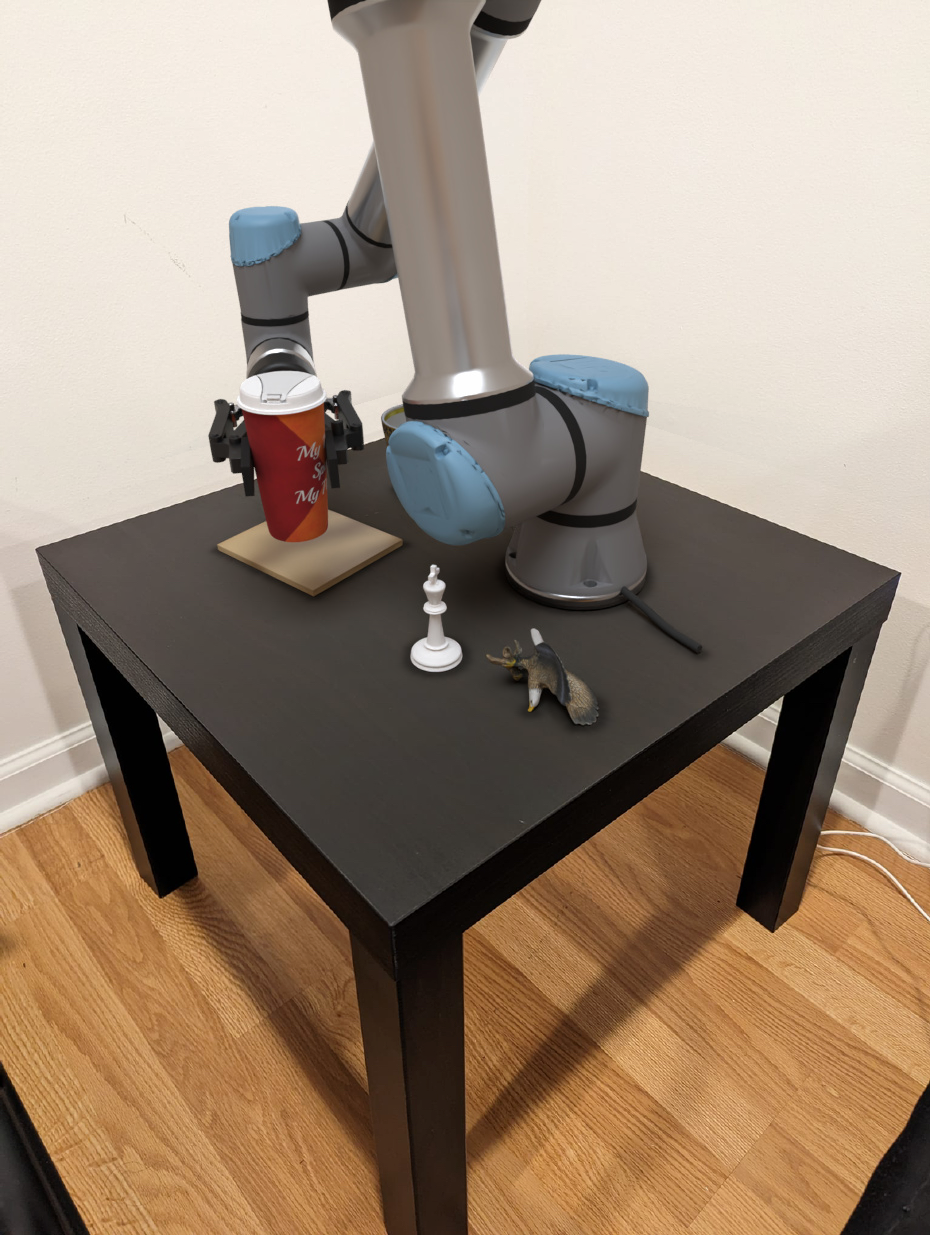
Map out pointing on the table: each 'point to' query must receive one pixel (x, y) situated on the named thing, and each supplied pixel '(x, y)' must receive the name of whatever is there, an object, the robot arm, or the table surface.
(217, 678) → the table surface
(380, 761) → the table surface
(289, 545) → the birch board
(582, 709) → the eagle figurine
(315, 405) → the paper cup
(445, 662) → the chess piece
